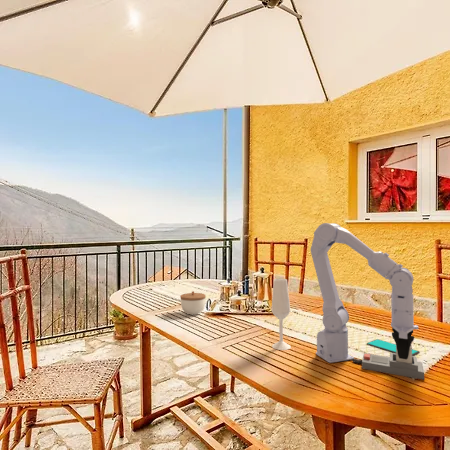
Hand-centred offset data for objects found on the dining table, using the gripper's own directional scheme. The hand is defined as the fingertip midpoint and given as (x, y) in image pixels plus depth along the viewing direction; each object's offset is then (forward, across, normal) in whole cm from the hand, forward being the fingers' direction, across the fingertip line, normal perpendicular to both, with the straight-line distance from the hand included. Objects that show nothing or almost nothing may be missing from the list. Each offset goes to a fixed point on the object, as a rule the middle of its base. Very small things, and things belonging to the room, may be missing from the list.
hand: (403, 355), depth 95 cm
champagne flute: (+5, +3, +38) cm, 39 cm away
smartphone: (+5, +18, +3) cm, 19 cm away
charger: (+2, 0, 0) cm, 2 cm away
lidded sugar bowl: (+5, +27, +92) cm, 96 cm away
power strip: (+4, 0, +4) cm, 6 cm away
